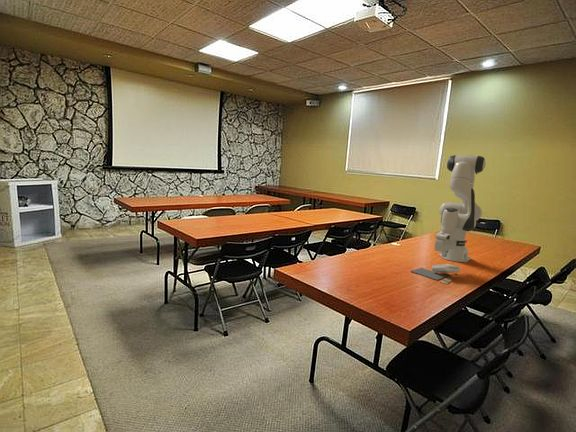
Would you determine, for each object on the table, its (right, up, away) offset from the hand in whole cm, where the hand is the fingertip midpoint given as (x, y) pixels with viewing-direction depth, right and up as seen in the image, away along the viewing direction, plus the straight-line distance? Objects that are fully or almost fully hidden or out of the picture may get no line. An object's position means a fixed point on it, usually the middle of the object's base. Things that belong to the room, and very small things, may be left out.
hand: (444, 257), depth 198 cm
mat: (-13, -9, -8) cm, 18 cm away
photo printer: (-5, -7, -4) cm, 10 cm away
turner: (-6, -11, -17) cm, 21 cm away
